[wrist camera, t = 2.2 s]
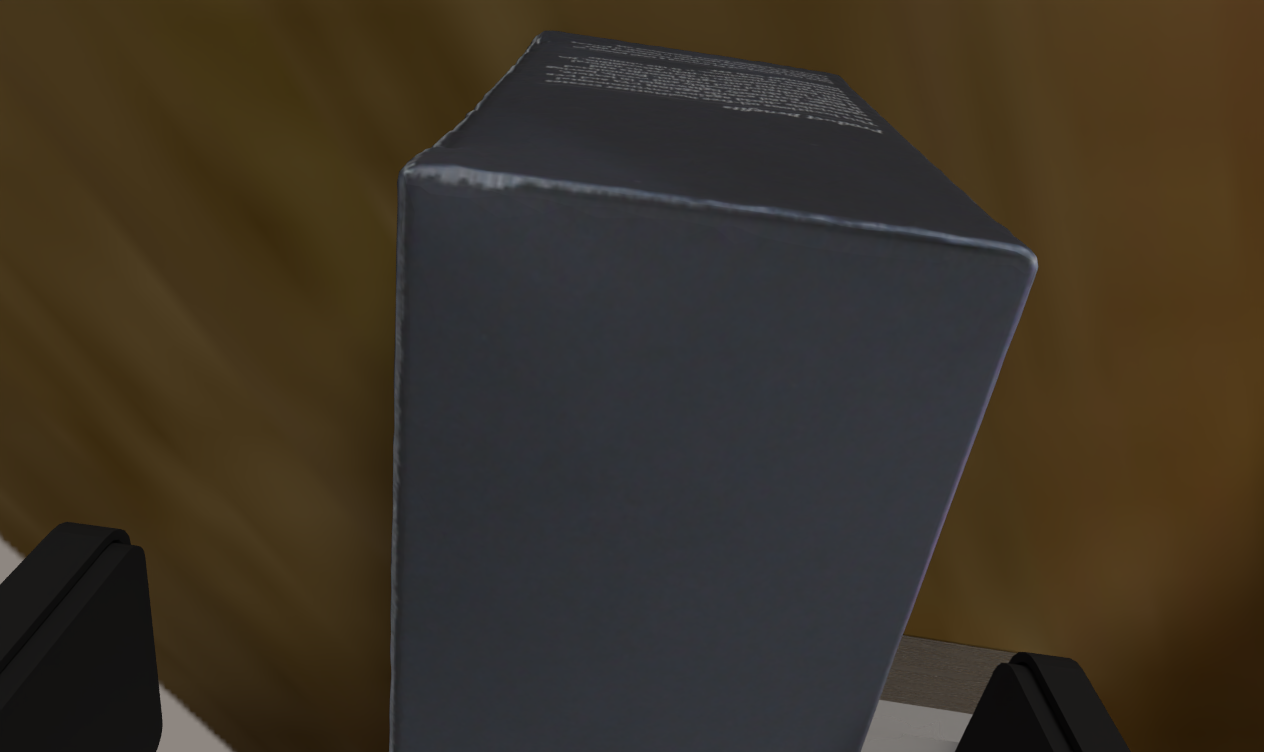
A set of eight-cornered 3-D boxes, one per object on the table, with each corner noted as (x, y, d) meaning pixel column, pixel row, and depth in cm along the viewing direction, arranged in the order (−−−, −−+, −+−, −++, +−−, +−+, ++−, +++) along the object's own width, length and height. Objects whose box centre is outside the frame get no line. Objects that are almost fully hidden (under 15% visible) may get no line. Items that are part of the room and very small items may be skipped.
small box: (757, 512, 22) (819, 949, 13) (496, 477, 22) (365, 895, 13) (865, 70, 17) (1089, 261, 8) (529, 22, 17) (355, 157, 8)
